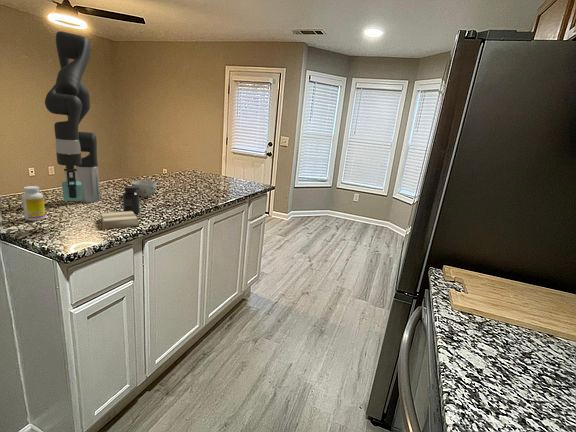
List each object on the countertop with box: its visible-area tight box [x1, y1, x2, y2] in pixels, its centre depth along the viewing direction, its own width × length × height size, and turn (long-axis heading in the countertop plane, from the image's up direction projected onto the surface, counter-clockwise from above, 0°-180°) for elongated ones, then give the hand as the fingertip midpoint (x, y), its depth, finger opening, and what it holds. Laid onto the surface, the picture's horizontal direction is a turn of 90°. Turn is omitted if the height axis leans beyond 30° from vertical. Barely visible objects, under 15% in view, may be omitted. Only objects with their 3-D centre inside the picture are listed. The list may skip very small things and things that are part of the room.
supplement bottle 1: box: [21, 185, 47, 222], centre depth 122 cm, size 7×7×13 cm
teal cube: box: [61, 181, 83, 202], centre depth 119 cm, size 6×6×6 cm
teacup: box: [131, 179, 157, 198], centre depth 172 cm, size 15×12×8 cm
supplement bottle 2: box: [122, 185, 141, 215], centre depth 143 cm, size 7×7×12 cm
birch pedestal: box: [100, 211, 139, 229], centre depth 129 cm, size 12×12×3 cm
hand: (72, 195), depth 119 cm, fingers closed on teal cube, 6 cm apart
